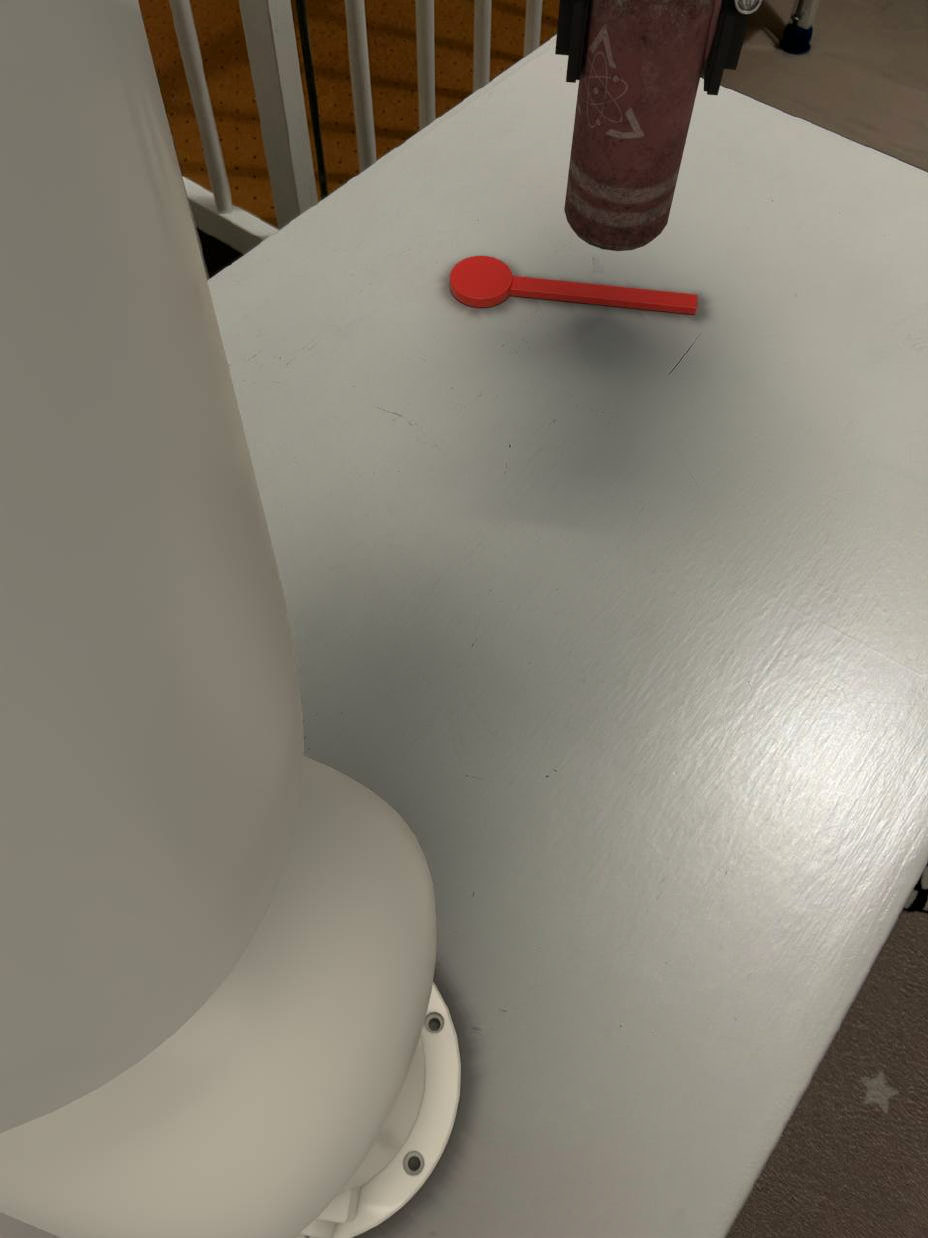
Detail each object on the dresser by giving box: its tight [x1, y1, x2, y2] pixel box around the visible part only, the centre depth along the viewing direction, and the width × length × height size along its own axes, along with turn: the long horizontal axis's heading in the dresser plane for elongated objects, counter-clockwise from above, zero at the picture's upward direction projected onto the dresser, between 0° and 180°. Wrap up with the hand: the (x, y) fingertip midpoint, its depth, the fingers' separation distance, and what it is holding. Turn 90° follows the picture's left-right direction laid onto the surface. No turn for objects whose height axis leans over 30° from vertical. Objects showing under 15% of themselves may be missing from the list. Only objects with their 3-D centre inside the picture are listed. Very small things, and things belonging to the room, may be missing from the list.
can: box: [563, 0, 722, 252], centre depth 51 cm, size 6×6×14 cm
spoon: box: [449, 255, 698, 315], centre depth 67 cm, size 17×4×1 cm, turn 82°
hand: (642, 70), depth 50 cm, fingers closed on can, 6 cm apart
